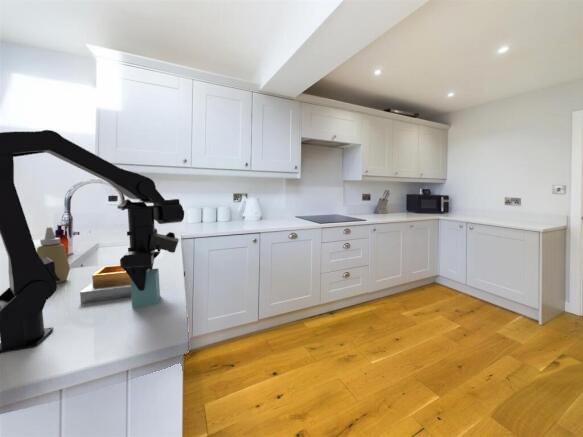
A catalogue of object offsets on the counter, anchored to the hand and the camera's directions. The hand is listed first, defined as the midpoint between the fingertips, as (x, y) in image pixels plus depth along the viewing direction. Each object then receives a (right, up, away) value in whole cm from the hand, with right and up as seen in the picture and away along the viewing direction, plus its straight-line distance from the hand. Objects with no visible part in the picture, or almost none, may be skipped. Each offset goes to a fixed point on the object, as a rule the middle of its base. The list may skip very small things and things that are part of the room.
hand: (145, 284), depth 66 cm
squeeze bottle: (-39, -4, +16) cm, 42 cm away
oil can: (0, -5, +1) cm, 5 cm away
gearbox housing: (-14, -4, +10) cm, 18 cm away
